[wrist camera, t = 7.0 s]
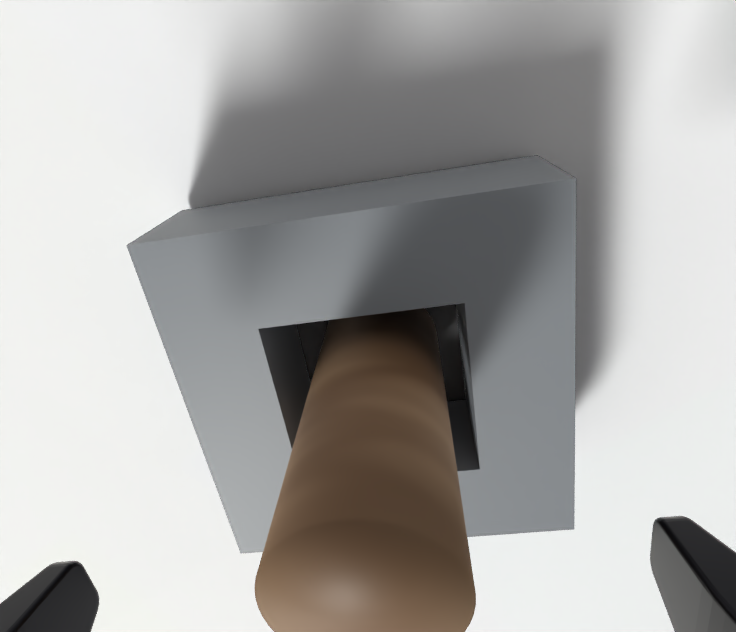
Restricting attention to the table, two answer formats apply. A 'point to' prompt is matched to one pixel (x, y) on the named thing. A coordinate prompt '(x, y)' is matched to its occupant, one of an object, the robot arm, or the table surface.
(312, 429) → the peg
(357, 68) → the table surface
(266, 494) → the socket
